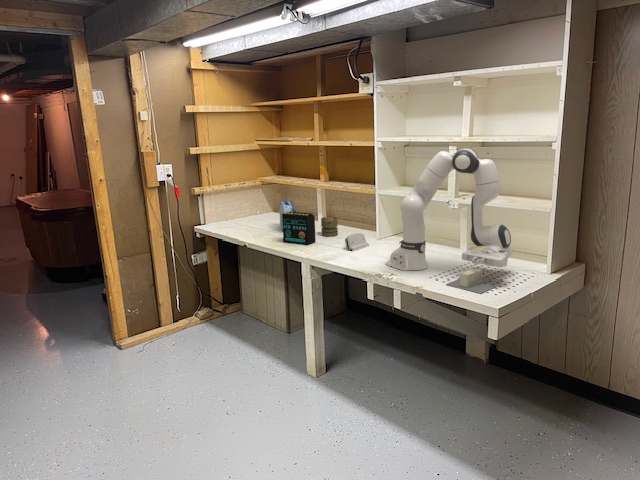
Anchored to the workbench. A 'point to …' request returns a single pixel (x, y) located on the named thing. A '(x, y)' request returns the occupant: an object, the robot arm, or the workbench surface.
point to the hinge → (356, 242)
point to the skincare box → (471, 277)
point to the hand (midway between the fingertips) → (474, 261)
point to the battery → (299, 228)
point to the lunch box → (285, 209)
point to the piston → (329, 227)
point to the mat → (473, 287)
